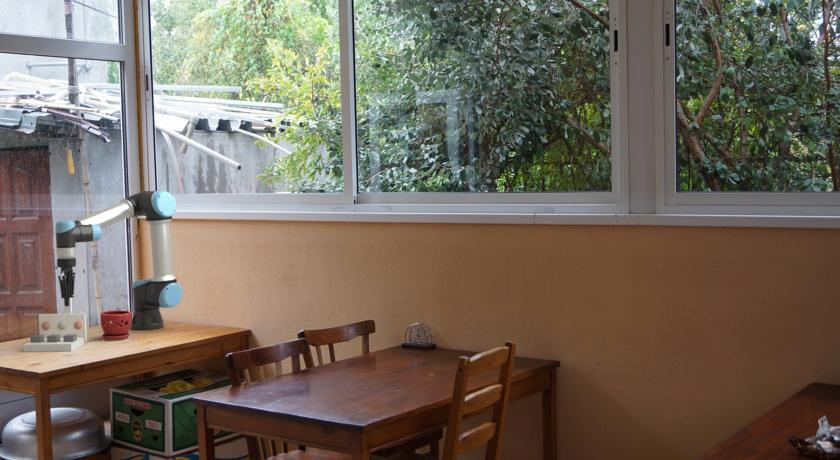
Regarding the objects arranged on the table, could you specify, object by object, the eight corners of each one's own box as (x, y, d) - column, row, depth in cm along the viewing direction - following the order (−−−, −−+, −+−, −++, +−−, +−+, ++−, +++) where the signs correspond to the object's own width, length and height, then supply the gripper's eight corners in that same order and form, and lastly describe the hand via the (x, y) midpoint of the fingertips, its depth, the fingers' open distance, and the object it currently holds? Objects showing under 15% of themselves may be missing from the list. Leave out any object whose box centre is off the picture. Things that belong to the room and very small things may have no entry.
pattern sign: (88, 342, 408) (87, 312, 407) (84, 344, 403) (82, 314, 402) (42, 342, 408) (41, 313, 407) (38, 345, 403) (36, 315, 402)
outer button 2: (44, 341, 397) (43, 334, 397) (40, 343, 393) (39, 336, 393) (34, 341, 397) (34, 334, 397) (30, 343, 393) (30, 336, 393)
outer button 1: (76, 341, 397) (76, 334, 397) (73, 342, 393) (72, 335, 393) (67, 341, 397) (67, 334, 397) (63, 343, 393) (63, 336, 393)
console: (83, 344, 402) (83, 337, 402) (71, 351, 388) (70, 343, 388) (37, 345, 403) (37, 338, 402) (23, 351, 389) (23, 344, 388)
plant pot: (108, 342, 406) (107, 315, 405) (96, 338, 416) (95, 312, 415) (137, 338, 414) (136, 311, 414) (124, 334, 424) (123, 308, 423)
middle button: (60, 341, 397) (60, 334, 397) (56, 343, 393) (56, 336, 393) (51, 341, 397) (50, 334, 397) (47, 343, 393) (46, 336, 393)
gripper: (63, 256, 399) (65, 311, 401) (51, 259, 386) (53, 315, 388) (81, 256, 399) (82, 310, 400) (69, 258, 386) (71, 315, 387)
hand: (68, 313), depth 394 cm, fingers closed
